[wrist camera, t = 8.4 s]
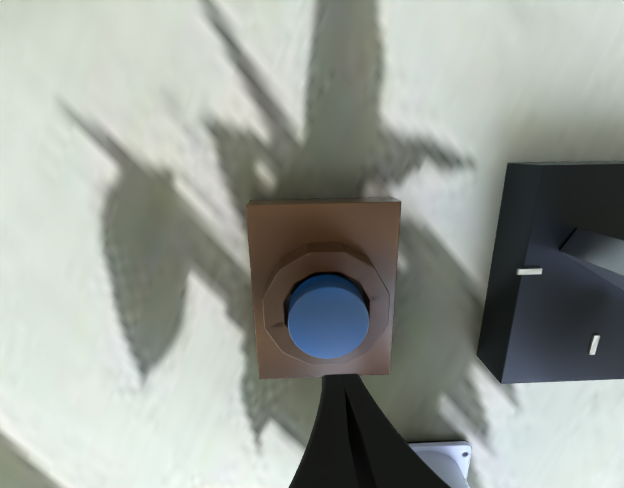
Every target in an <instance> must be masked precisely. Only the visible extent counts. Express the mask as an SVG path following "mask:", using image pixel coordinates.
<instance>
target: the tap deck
mask: <svg viewBox="0 0 624 488" xmlns="http://www.w3.org/2000/svg"><path fill="white" fill-rule="evenodd" d="M578 228H581V229H585V230H588V231H592V232H595V233H599V234H602V235H606V236H609V237H613V238H616V239H620V240H623V241H624V161H575V162H519V163H508V164H507V170H506V176H505V182H504V189H503V195H502V201H501V207H500V214H499V220H498V226H497V232H496V239H495V245H494V251H493V257H492V264H491V270H490V276H489V282H488V289H487V295H486V301H485V307H484V313H483V320H482V326H481V332H480V338H479V345H478V351H477V356H478V357H479V359H480V360H481V361H482V362H483V363H484V364H485V366H486V367H487V368H488V369H489V370H490V372H491V373H492V374H493V375H494V376H495V377H496V379H497V380H498V381H499V382H500V383H501V384H507V383H532V382H557V381H583V380H608V379H624V291H623V290H621V289H620V288H618V287H617V286H615V285H613V284H612V283H610V282H608V281H607V280H605V279H604V278H602V277H600V276H599V275H597V274H595V273H594V272H592V271H591V270H589V269H587V268H586V267H584V266H583V265H581V264H579V263H578V262H576V261H574V260H573V259H571V258H570V257H568V256H566V255H565V254H563V253H561V252H560V250H561V248H562V247H563V246H564V245H565V243H566V242H567V241H568V240H569V238H570V237H571V236H572V235H573V233H574V232H575V231H576V230H577V229H578Z"/></svg>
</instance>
